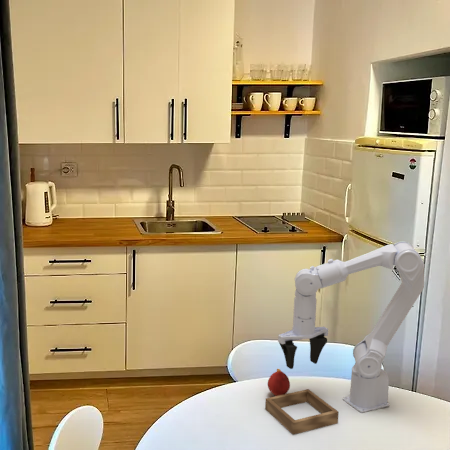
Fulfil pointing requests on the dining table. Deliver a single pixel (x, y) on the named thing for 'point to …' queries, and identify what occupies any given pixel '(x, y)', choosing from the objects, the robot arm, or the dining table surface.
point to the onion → (278, 383)
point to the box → (304, 424)
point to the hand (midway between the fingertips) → (301, 364)
